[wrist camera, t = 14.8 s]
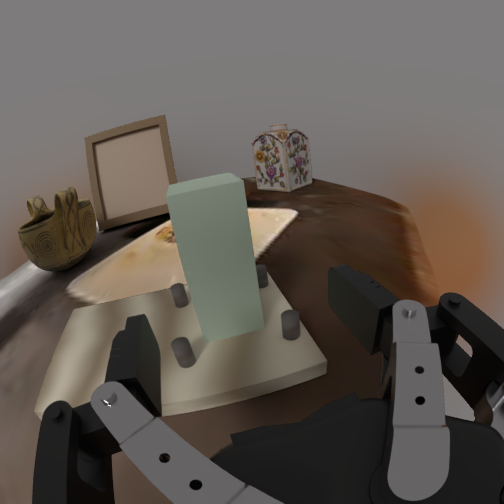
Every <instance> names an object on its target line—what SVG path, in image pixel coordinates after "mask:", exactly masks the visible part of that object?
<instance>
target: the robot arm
mask: <svg viewBox="0 0 504 504" xmlns="http://www.w3.org/2000/svg"><path fill="white" fill-rule="evenodd" d="M328 301H329V304H330V307H331V309H332V310H333V312H334V313H335V314H336V315H337V316H338V317H339V318H340V320H341V321H342V322H343V323H344V324H345V325H346V326H347V328H348V329H349V330H350V331H351V332H352V333H353V334H354V336H355V337H356V338H357V339H358V340H359V341H360V343H361V344H362V345H363V346H364V347H365V348H366V350H367V351H368V352H369V353H370V354H371V355H373V354H375V353H377V352H379V351H382V353H383V356H382V364H381V376H380V386H379V394H378V398H367V399H359V398H358V397H357V395H356V394H355V392H354V393H352V394H350V395H348V396H345V397H343V398H341V399H338V400H336V401H334V402H331V403H329V404H326V405H325V406H324V407H322V408H321V409H319V410H318V411H316V412H315V413H313V414H312V415H310V416H309V417H307V418H305V419H304V420H302V421H300V422H298V423H291V424H282V425H271V426H262V427H258V428H254V429H251V430H247V431H243V432H239V433H235V434H230V435H231V439H232V442H233V443H231V444H229V445H227V446H225V447H224V448H222V449H220V450H219V451H218V452H217V453H215V454H214V455H213V456H212V457H211V458H210V459H208V458H206V457H205V456H204V455H202V454H201V453H200V452H198V451H197V450H196V449H195V448H193V447H192V446H191V445H190V444H188V443H187V442H186V441H185V440H183V439H182V438H181V437H180V436H179V435H177V434H176V433H175V432H174V431H173V430H172V429H170V428H169V427H168V426H167V425H166V424H165V423H164V422H163V421H161V420H160V419H159V418H158V417H162V404H161V355H160V349H159V345H158V342H157V340H156V337H155V335H154V333H153V331H152V328H151V326H150V323H149V321H148V319H147V317H146V315H145V314H140V315H135V316H130V317H127V320H126V325H125V330H121V331H119V332H118V333H117V334H116V336H115V337H114V339H113V341H112V346H111V350H110V355H109V357H110V358H109V360H108V365H107V370H106V375H105V381H104V384H102V385H100V386H98V387H97V388H96V389H95V390H94V392H93V393H92V396H91V401H90V402H88V403H85V404H82V405H80V406H77V407H74V408H72V407H71V405H70V404H69V403H68V402H66V401H63V400H59V401H55V402H53V403H51V404H50V405H49V406H48V407H47V408H46V409H45V411H44V413H43V416H42V421H41V426H40V432H39V438H38V444H37V451H36V458H35V467H34V478H33V496H32V504H115V500H114V489H113V476H112V454H115V453H118V452H120V451H124V453H125V454H126V455H127V456H128V457H129V458H130V460H131V461H132V462H133V463H134V464H135V465H136V466H137V467H138V468H139V470H140V471H141V472H142V473H143V474H144V475H145V476H146V477H147V478H148V479H149V480H150V481H151V482H152V483H153V484H154V485H155V486H156V487H157V488H158V489H159V490H160V491H161V492H162V493H163V494H164V495H165V496H166V497H167V498H169V499H170V500H171V501H172V502H173V503H174V504H504V329H502V327H500V326H499V325H498V324H497V323H496V322H494V321H493V320H492V319H491V318H490V317H489V316H487V315H486V314H485V313H484V312H482V311H481V310H480V309H479V308H477V307H476V306H475V305H473V304H472V303H471V302H470V301H469V300H467V299H466V298H465V297H463V296H462V295H460V294H457V293H445V294H443V295H442V296H441V297H440V300H439V304H438V305H437V306H431V307H426V308H425V307H424V306H423V305H422V304H420V303H419V302H417V301H413V300H401V301H400V300H399V299H398V298H396V297H395V296H394V295H393V294H392V293H390V292H389V291H388V290H387V289H385V288H384V287H383V286H381V285H380V284H379V283H378V282H375V280H374V279H373V278H371V277H370V276H369V275H367V274H364V273H362V272H359V271H355V270H353V269H352V268H351V267H350V266H348V265H347V264H342V265H338V266H335V267H331V268H330V269H329V271H328ZM458 335H460V336H461V337H462V338H463V339H464V340H465V341H467V342H468V343H469V344H470V345H471V347H472V350H473V355H472V357H470V356H469V355H468V354H467V353H466V352H465V351H464V350H463V349H462V348H461V347H460V346H459V345H458V344H457V343H456V340H457V338H458ZM442 374H443V375H444V376H445V377H446V378H447V379H448V381H449V382H450V383H451V384H452V385H453V386H454V388H455V389H456V390H457V391H458V392H459V393H460V395H461V396H462V397H463V398H464V399H465V401H466V402H467V403H468V404H469V405H470V407H471V408H472V409H473V410H474V416H475V420H474V421H469V420H464V419H459V418H455V417H451V416H446V415H445V407H444V390H443V379H442Z"/></svg>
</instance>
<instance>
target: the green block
mask: <svg viewBox="0 0 504 504" xmlns="http://www.w3.org/2000/svg"><path fill="white" fill-rule="evenodd" d="M166 200H167V205H168V209H169V214H170V218H171V222H172V226H173V231H174V235H175V239H176V243H177V247H178V251H179V255H180V258H181V262H182V266H183V270H184V273H185V277H186V280H187V284H188V288H189V291H190V295H191V298H192V301H193V305H194V308H195V311H196V315H197V318H198V321H199V324H200V328H201V331H202V334H203V337H204V340H205V343H208V342H212V341H217V340H221V339H225V338H229V337H233V336H237V335H241V334H245V333H249V332H252V331H256V330H260V329H263V328H264V321H263V314H262V307H261V300H260V293H259V286H258V279H257V272H256V265H255V258H254V251H253V244H252V237H251V230H250V224H249V217H248V210H247V203H246V196H245V189H244V182H243V180H241V179H240V178H238V177H236V176H235V175H233V174H231V173H225V174H219V175H214V176H209V177H204V178H199V179H194V180H190V181H185V182H180V183H176V184H171V185H169V187H168V190H167V194H166Z"/></svg>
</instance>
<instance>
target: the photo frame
mask: <svg viewBox="0 0 504 504" xmlns="http://www.w3.org/2000/svg"><path fill="white" fill-rule="evenodd" d="M85 145H86V155H87V163H88V170H89V178H90V184H91V190H92V196H93V202H94V207H95V211H96V216H97V222H98V226H99V231H102V230H106V229H109V228H113V227H116V226H120V225H124V224H127V223H131V222H135V221H138V220H142V219H146V218H150V217H154V216H158V215H162V214H166V213H169V209H168V205H167V200H166V194H167V190H168V187H169V185H171V184H176V183H177V179H176V174H175V169H174V164H173V158H172V153H171V147H170V141H169V136H168V129H167V123H166V117H165V115H162V116H158V117H153V118H149V119H145V120H141V121H137V122H134V123H130V124H127V125H123V126H120V127H116V128H113V129H110V130H106V131H103V132H100V133H97V134H94V135H91V136H88V137H85Z"/></svg>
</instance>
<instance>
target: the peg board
mask: <svg viewBox="0 0 504 504" xmlns="http://www.w3.org/2000/svg"><path fill="white" fill-rule="evenodd" d="M256 272H257V279H258V286H259V293H260V300H261V307H262V314H263V321H264V328H263V329H260V330H256V331H252V332H249V333H245V334H241V335H237V336H233V337H229V338H225V339H221V340H217V341H212V342H208V343H205V340H204V337H203V334H202V331H201V328H200V324H199V321H198V318H197V315H196V311H195V308H194V305H193V301H192V298H191V295H190V291H189V288H188V284H186V285H183V284H181V283H178V284H174V285H173V286H171V288H169V289H164V290H160V291H155V292H151V293H146V294H142V295H137V296H133V297H128V298H124V299H119V300H115V301H110V302H105V303H101V304H96V305H91V306H87V307H82V308H77V309H74V310H73V312H72V314H71V316H70V318H69V321H68V323H67V325H66V327H65V329H64V332H63V334H62V336H61V338H60V341H59V343H58V345H57V348H56V350H55V353H54V355H53V358H52V360H51V363H50V365H49V368H48V371H47V373H46V376H45V379H44V382H43V385H42V388H41V390H40V393H39V397H38V400H37V403H36V406H35V409H34V413H35V414H36V415H37V416H38V417H39V418H40V419H41V420H42V416H43V413H44V411H45V409H46V408H47V407H48V406H49V405H50V404H51V403H53V402H55V401H59V400H63V401H66V402H68V403H69V404H70V405H71V407H72V408H74V407H77V406H80V405H82V404H85V403H88V402H90V401H91V396H92V393H93V392H94V390H95V389H96V388H97V387H98V386H100V385H102V384H104V381H105V375H106V370H107V365H108V360H109V358H110V357H109V355H110V350H111V346H112V341H113V339H114V337H115V336H116V334H117V333H118V332H119V331H121V330H125V325H126V320H127V317H130V316H135V315H140V314H145V315H146V317H147V319H148V321H149V323H150V326H151V328H152V331H153V333H154V335H155V337H156V340H157V342H158V345H159V349H160V355H161V404H162V417H163V416H170V415H176V414H182V413H188V412H193V411H199V410H204V409H209V408H213V407H218V406H222V405H227V404H231V403H235V402H239V401H243V400H247V399H250V398H254V397H258V396H261V395H265V394H268V393H271V392H275V391H278V390H281V389H284V388H287V387H290V386H293V385H296V384H299V383H302V382H305V381H308V380H311V379H314V378H316V377H319V376H322V375H324V374H326V372H327V359H326V358H325V357H324V355H323V354H322V352H321V351H320V349H319V348H318V346H317V345H316V343H315V342H314V340H313V339H312V337H311V336H310V334H309V333H308V331H307V330H306V328H305V327H304V325H303V324H302V323H301V321H300V316H299V312H298V311H296V310H293V309H292V308H291V306H290V305H289V303H288V302H287V300H286V299H285V297H284V296H283V294H282V293H281V291H280V290H279V289H278V287H277V286H276V284H275V283H274V281H273V280H272V278H271V277H270V275H269V274H268V272H267V267H266V265H263V264H258V265H256Z"/></svg>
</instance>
